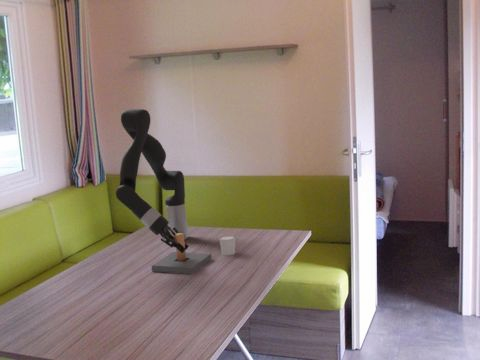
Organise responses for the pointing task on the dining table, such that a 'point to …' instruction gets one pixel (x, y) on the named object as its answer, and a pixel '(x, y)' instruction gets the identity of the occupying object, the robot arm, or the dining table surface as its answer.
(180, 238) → the peg
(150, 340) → the dining table surface
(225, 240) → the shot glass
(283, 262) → the dining table surface
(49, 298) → the dining table surface
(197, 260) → the peg board
